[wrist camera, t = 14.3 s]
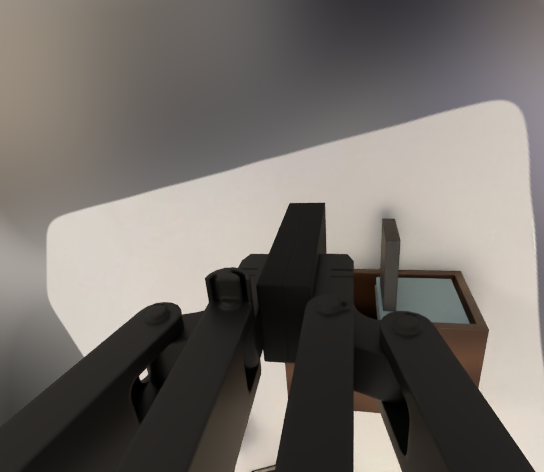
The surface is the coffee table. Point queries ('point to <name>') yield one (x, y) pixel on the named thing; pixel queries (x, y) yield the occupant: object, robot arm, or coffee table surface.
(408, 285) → the door
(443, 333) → the cabinet
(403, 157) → the coffee table surface
